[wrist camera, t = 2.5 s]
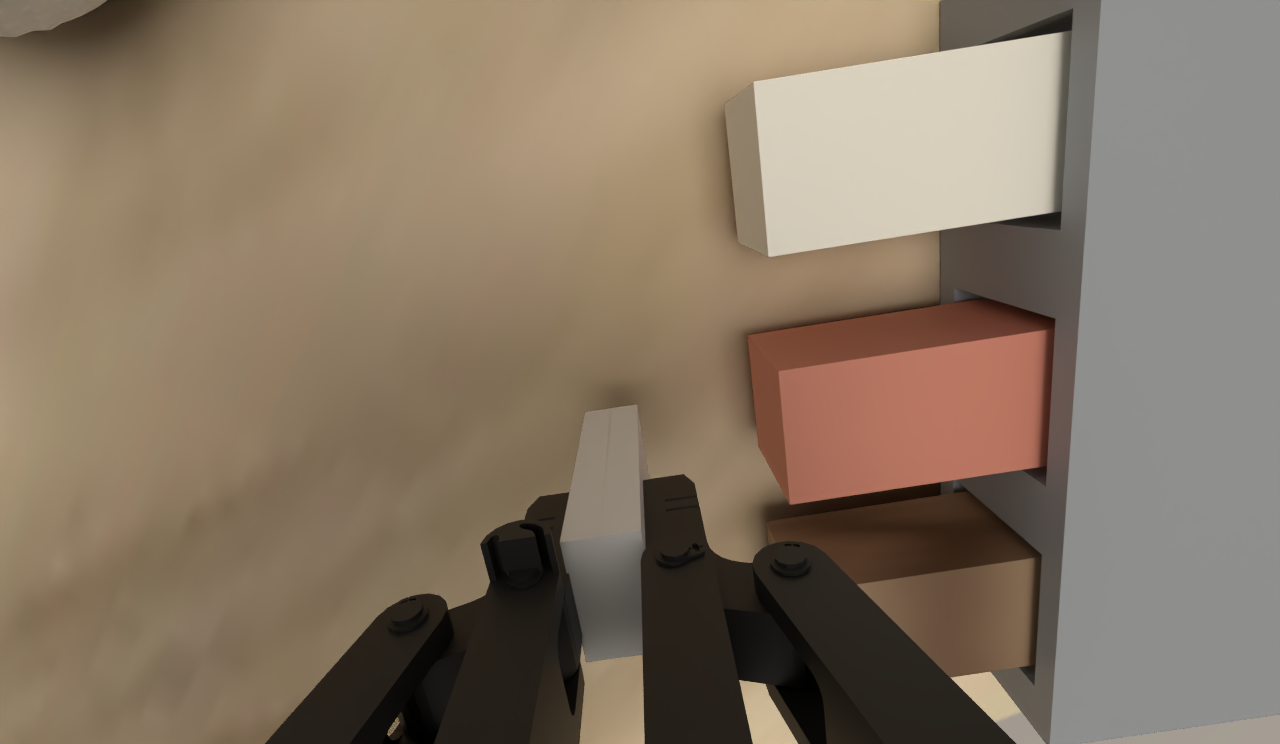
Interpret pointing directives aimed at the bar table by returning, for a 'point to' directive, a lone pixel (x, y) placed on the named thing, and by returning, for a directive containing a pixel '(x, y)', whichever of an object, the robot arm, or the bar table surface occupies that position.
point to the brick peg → (903, 398)
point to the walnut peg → (937, 575)
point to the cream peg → (900, 145)
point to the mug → (40, 14)
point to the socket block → (1147, 365)
